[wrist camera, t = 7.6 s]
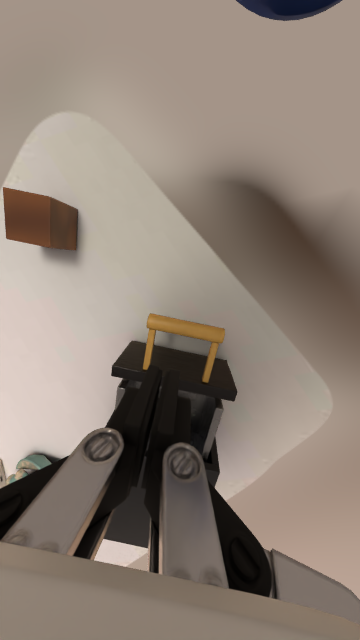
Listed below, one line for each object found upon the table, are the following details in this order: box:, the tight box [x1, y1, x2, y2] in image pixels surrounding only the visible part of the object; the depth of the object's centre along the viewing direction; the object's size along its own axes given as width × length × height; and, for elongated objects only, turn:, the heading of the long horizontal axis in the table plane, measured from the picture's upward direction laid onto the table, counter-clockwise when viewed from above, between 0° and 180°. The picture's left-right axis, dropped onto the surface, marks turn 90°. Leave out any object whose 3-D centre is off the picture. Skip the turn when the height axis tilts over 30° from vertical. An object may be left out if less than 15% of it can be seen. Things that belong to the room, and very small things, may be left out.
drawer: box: [111, 313, 237, 463], centre depth 23 cm, size 20×12×6 cm, turn 169°
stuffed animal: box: [6, 455, 52, 485], centre depth 31 cm, size 11×7×12 cm
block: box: [3, 187, 78, 250], centre depth 20 cm, size 4×4×4 cm
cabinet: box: [103, 410, 220, 548], centre depth 27 cm, size 16×14×8 cm
